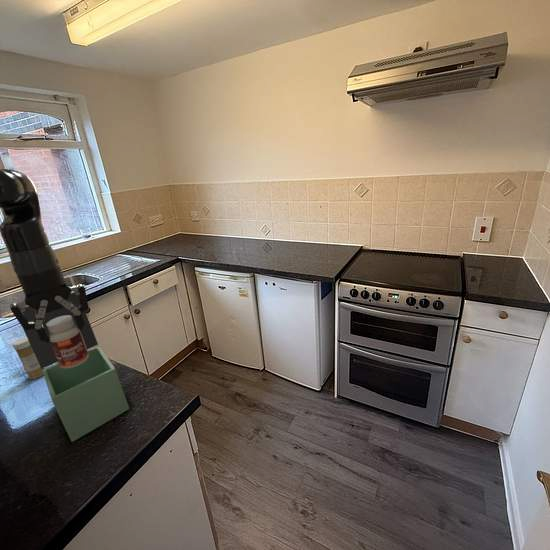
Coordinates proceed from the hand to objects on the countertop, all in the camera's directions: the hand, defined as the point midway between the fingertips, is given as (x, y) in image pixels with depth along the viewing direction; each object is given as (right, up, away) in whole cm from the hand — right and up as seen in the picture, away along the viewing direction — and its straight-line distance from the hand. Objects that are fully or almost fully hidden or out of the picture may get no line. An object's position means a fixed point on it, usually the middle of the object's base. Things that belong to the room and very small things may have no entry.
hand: (64, 334), depth 70 cm
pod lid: (-8, 0, +10) cm, 13 cm away
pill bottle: (+1, -7, +3) cm, 8 cm away
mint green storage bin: (0, -23, +11) cm, 25 cm away
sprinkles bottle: (-29, -19, +28) cm, 44 cm away
